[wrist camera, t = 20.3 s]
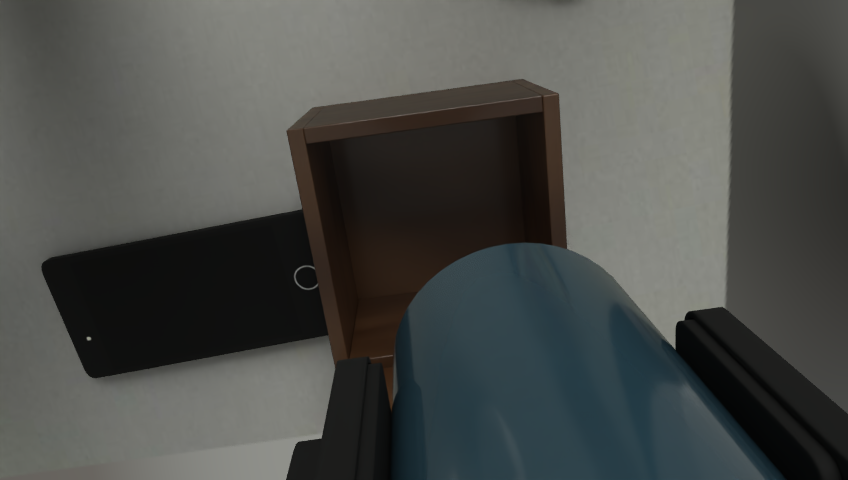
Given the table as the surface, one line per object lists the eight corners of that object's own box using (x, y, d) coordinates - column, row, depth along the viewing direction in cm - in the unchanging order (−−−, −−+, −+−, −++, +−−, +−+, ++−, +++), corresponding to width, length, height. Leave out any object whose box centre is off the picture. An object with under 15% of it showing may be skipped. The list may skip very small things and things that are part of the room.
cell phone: (345, 326, 42) (344, 332, 41) (94, 372, 42) (88, 380, 41) (313, 205, 39) (311, 210, 38) (45, 257, 39) (36, 263, 38)
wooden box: (311, 107, 37) (286, 130, 29) (523, 78, 37) (559, 93, 28) (349, 306, 41) (336, 375, 33) (537, 281, 41) (572, 344, 33)
